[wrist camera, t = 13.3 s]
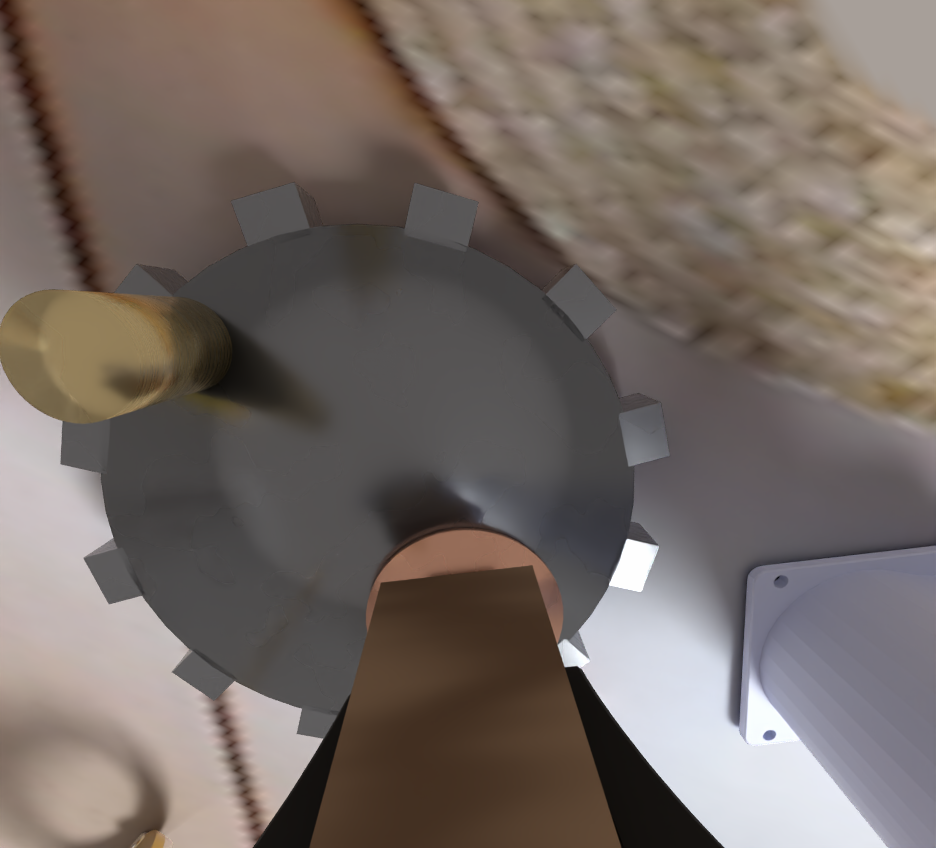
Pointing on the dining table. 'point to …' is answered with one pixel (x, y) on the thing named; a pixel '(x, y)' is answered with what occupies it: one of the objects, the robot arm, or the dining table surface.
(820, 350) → the dining table surface
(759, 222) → the dining table surface
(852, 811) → the dining table surface
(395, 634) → the wooden block
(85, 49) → the dining table surface
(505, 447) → the sprocket
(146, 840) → the ring
